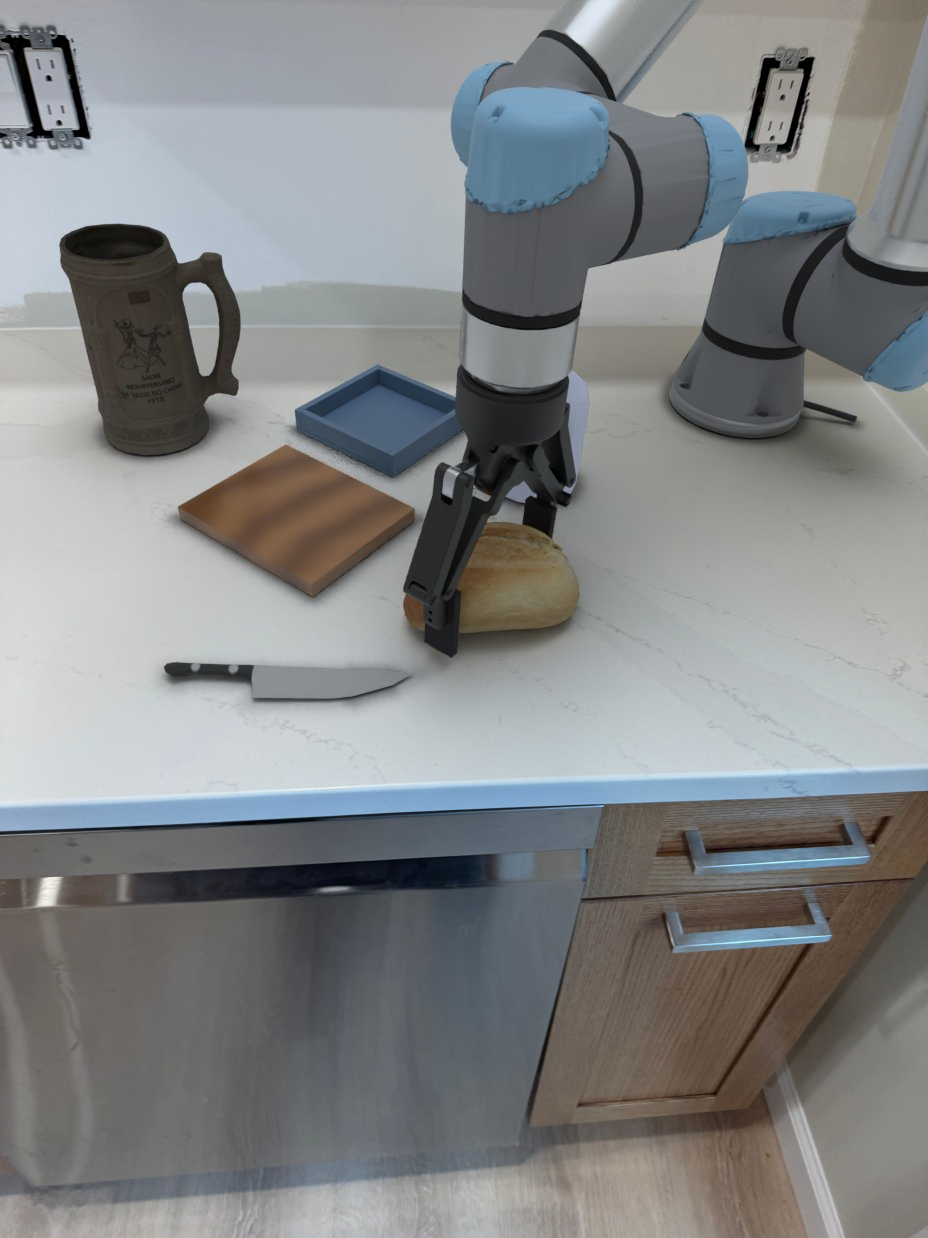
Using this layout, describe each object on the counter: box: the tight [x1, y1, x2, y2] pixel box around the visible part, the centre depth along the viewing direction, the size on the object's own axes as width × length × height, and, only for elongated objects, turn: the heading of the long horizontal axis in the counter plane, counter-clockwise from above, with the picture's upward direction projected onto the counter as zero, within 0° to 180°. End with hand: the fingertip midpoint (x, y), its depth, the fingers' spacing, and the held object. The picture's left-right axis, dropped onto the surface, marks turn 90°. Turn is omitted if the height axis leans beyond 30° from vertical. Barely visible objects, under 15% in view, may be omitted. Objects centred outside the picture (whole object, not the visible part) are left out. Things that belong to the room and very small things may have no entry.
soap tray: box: [294, 364, 464, 478], centre depth 90 cm, size 14×14×3 cm
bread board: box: [177, 444, 416, 598], centre depth 77 cm, size 17×14×2 cm
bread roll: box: [402, 521, 580, 634], centre depth 67 cm, size 10×15×8 cm, turn 104°
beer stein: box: [58, 223, 242, 456], centre depth 82 cm, size 15×11×20 cm
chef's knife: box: [163, 661, 413, 700], centre depth 63 cm, size 19×1×3 cm
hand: (489, 603), depth 69 cm, fingers closed on bread roll, 13 cm apart
